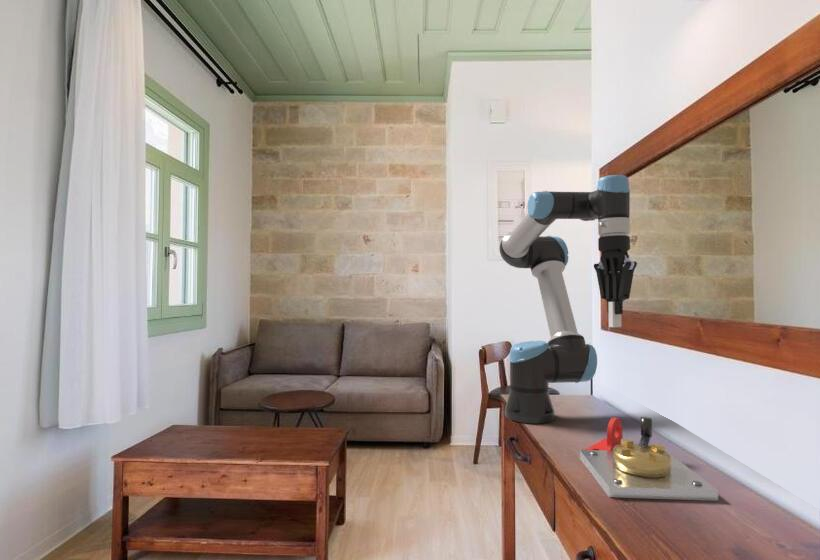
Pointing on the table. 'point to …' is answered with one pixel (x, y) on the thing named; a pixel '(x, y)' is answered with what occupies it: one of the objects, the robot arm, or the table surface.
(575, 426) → the table surface
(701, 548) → the table surface
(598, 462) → the flange plate
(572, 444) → the table surface
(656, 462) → the ball knob lever
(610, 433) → the bracket
